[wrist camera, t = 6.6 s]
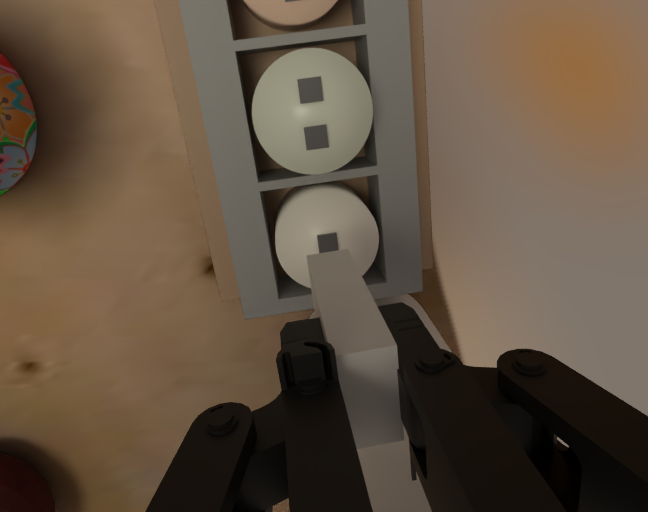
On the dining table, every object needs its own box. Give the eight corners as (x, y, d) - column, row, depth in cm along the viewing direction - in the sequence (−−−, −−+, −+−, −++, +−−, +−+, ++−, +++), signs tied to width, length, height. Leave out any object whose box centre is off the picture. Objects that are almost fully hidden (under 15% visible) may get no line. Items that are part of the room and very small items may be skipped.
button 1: (282, 272, 25) (284, 298, 22) (267, 184, 24) (267, 200, 20) (369, 258, 26) (383, 283, 22) (361, 171, 24) (375, 185, 21)
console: (223, 292, 27) (215, 328, 23) (135, -104, 20) (103, -148, 16) (426, 260, 28) (452, 290, 24) (408, -133, 21) (439, -183, 17)
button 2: (264, 168, 22) (262, 183, 19) (245, 60, 21) (241, 56, 17) (363, 154, 22) (378, 166, 19) (353, 46, 21) (368, 39, 18)
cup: (275, 364, 29) (278, 662, 14) (350, 258, 27) (446, 474, 12) (380, 417, 31) (479, 722, 16) (456, 323, 29) (648, 571, 14)
